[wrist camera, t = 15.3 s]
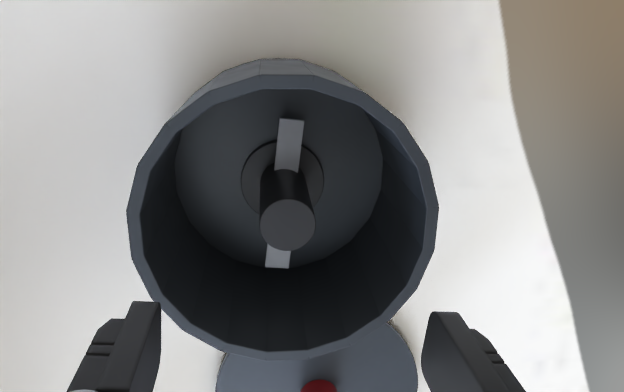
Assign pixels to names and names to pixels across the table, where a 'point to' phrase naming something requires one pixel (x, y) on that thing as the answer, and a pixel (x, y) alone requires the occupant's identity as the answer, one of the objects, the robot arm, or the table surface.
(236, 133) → the bowl
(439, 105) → the table surface
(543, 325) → the table surface
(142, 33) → the table surface
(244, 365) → the lid
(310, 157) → the blade
